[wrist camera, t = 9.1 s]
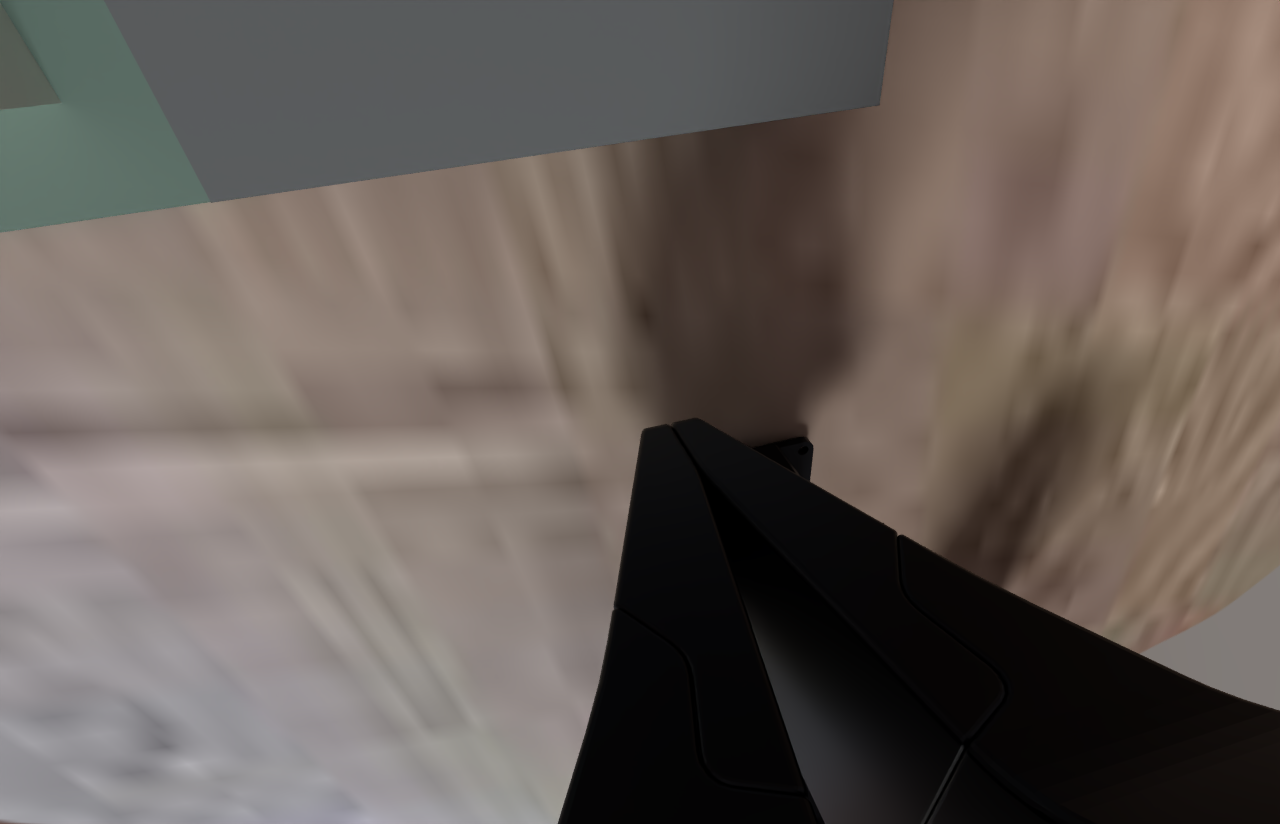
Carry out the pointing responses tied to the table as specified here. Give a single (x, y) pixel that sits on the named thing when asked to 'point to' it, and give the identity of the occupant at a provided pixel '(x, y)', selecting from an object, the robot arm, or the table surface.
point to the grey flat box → (480, 78)
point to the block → (20, 71)
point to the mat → (86, 126)
